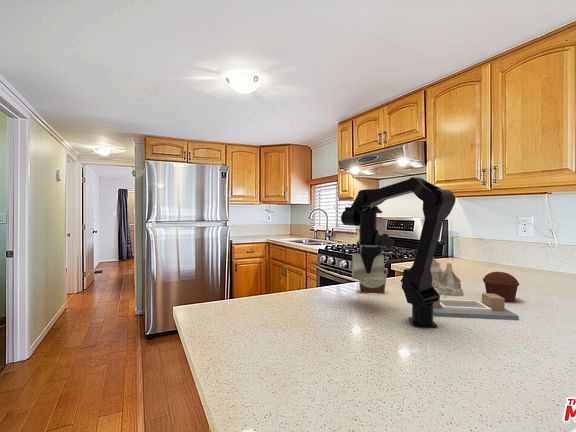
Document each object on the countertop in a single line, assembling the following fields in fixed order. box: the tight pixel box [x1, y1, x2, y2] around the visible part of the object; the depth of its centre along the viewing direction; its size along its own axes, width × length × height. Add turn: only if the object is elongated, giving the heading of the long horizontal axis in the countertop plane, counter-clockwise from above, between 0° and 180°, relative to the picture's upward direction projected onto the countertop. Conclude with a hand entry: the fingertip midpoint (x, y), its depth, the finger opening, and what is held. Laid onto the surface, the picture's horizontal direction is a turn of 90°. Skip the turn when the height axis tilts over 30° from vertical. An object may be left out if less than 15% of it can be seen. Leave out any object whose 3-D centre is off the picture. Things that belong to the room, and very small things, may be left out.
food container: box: [358, 267, 389, 295], centre depth 129 cm, size 12×6×10 cm, turn 84°
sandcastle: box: [431, 257, 464, 297], centre depth 132 cm, size 16×16×15 cm
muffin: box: [482, 271, 520, 303], centre depth 119 cm, size 12×11×10 cm
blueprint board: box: [433, 292, 520, 321], centre depth 105 cm, size 15×27×5 cm, turn 83°
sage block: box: [351, 252, 385, 280], centre depth 109 cm, size 5×10×8 cm, turn 83°
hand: (367, 271), depth 109 cm, fingers closed on sage block, 5 cm apart
